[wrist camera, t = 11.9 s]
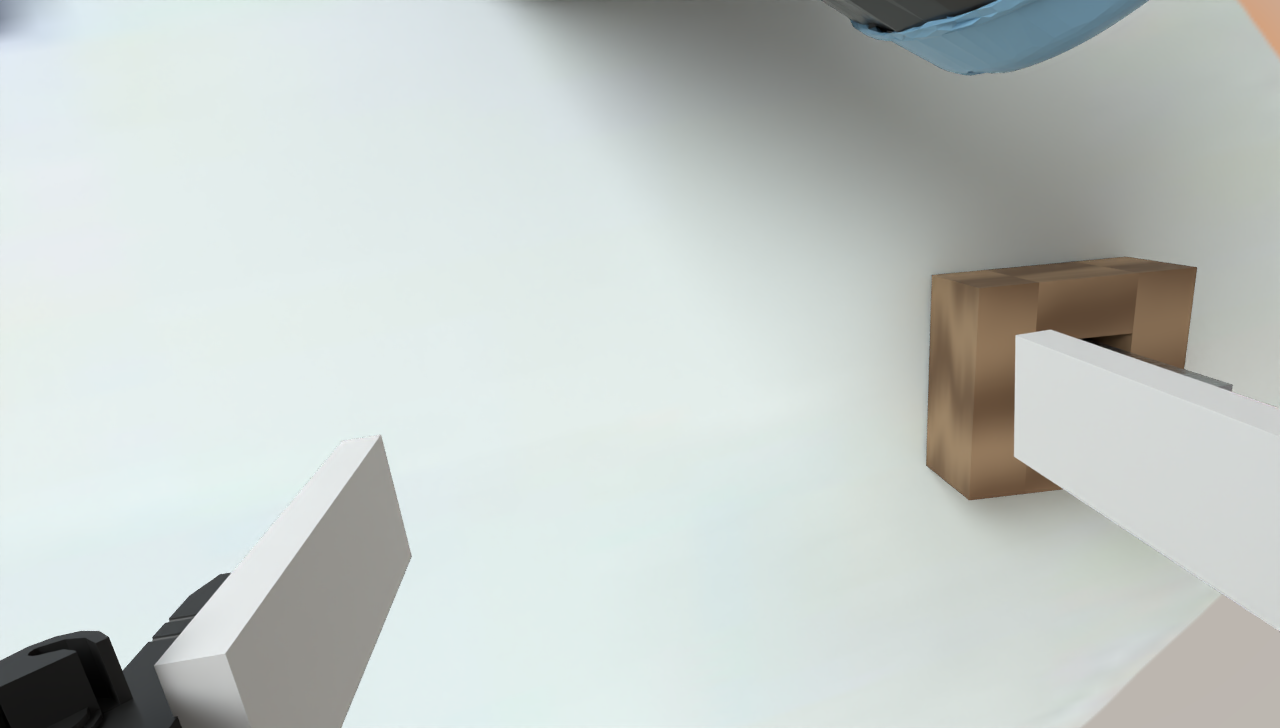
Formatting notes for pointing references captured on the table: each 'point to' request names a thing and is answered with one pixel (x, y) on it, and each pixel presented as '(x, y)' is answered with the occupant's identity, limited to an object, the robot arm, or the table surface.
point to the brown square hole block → (1024, 303)
